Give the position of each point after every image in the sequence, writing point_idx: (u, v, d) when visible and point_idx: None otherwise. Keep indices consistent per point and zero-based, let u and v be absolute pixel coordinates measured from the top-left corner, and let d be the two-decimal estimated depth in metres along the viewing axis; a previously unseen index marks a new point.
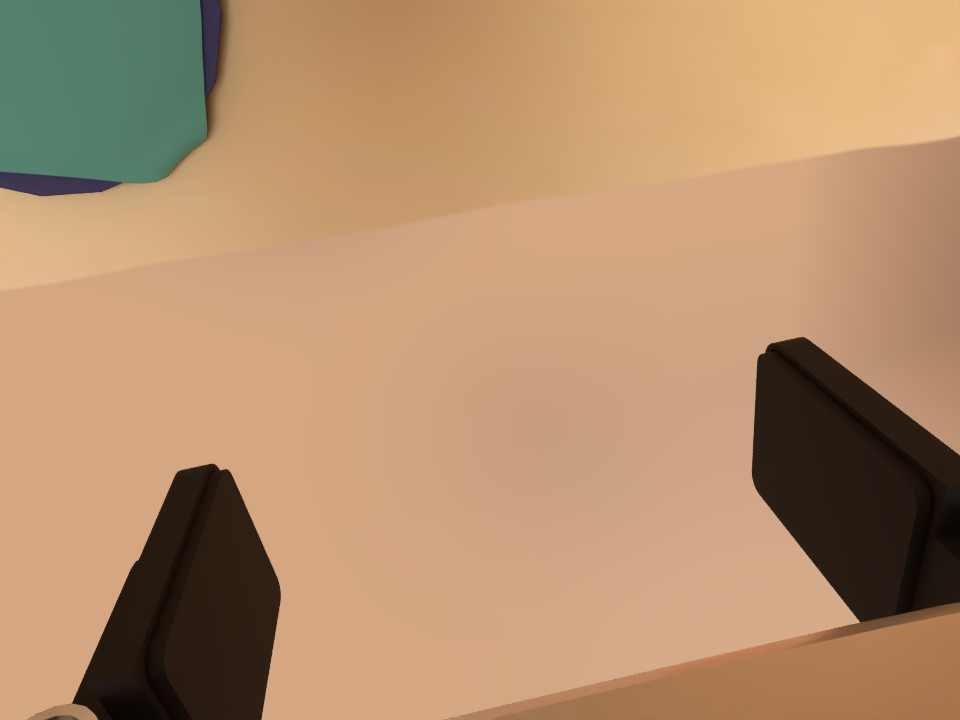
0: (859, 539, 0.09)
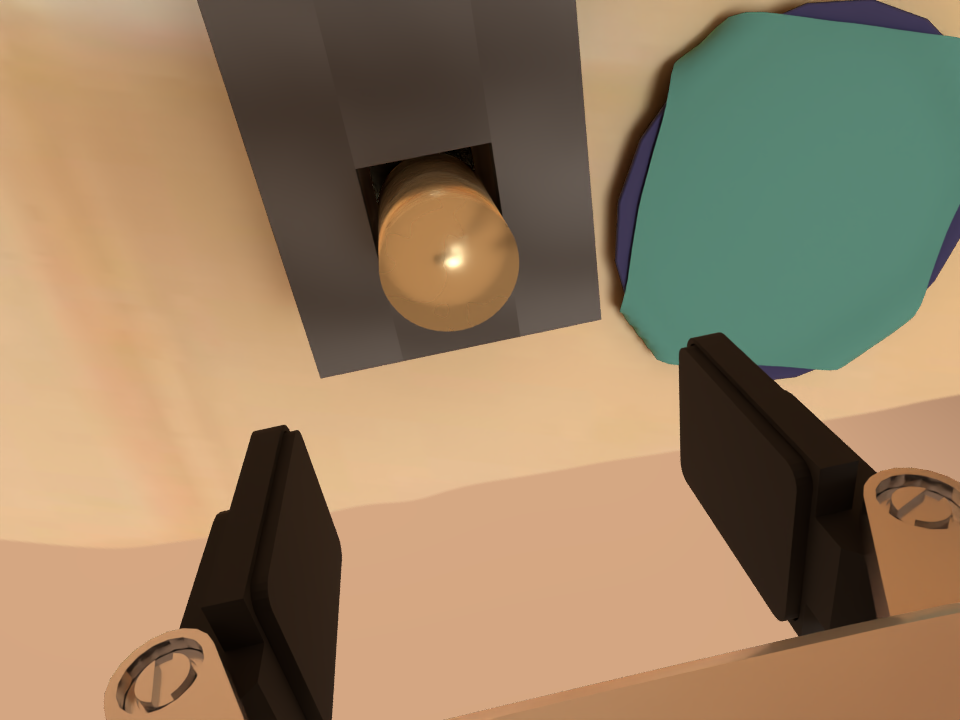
0: (758, 521, 0.10)
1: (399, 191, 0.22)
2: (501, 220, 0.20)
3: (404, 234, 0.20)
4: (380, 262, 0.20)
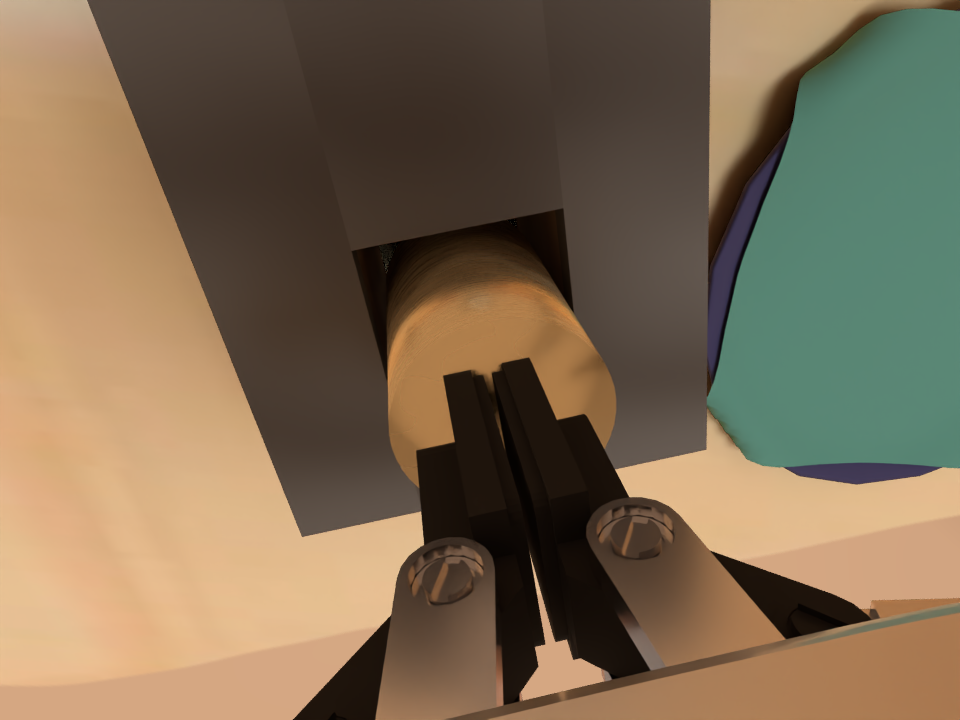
0: (535, 545, 0.10)
1: (420, 285, 0.14)
2: (592, 351, 0.12)
3: (431, 376, 0.12)
4: (391, 418, 0.12)
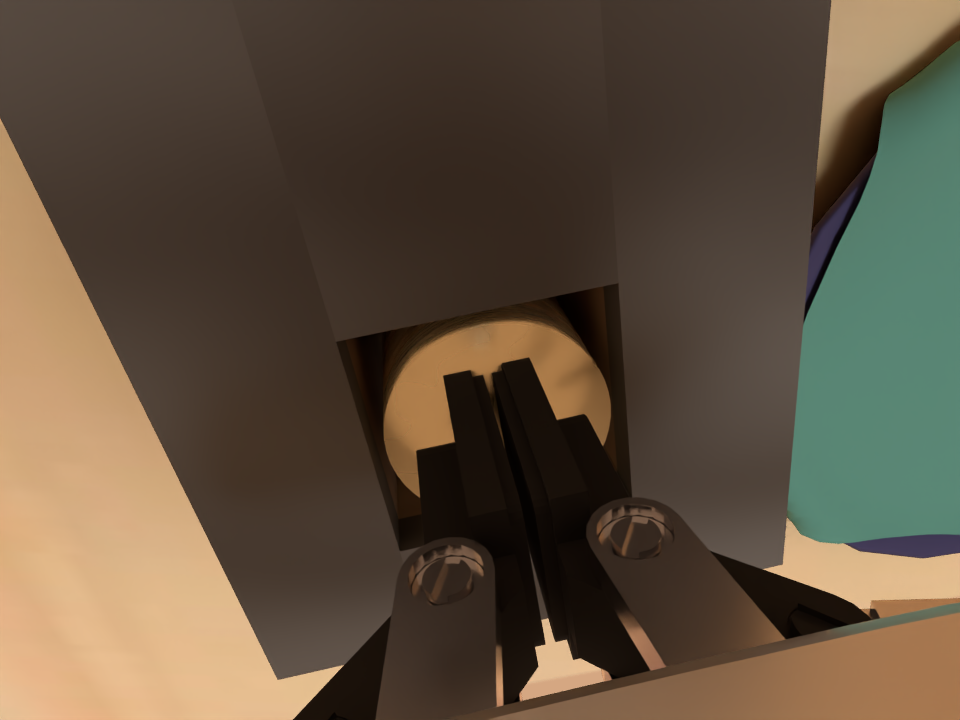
0: (534, 545, 0.10)
1: None
2: (586, 356, 0.12)
3: (426, 382, 0.12)
4: (386, 424, 0.12)
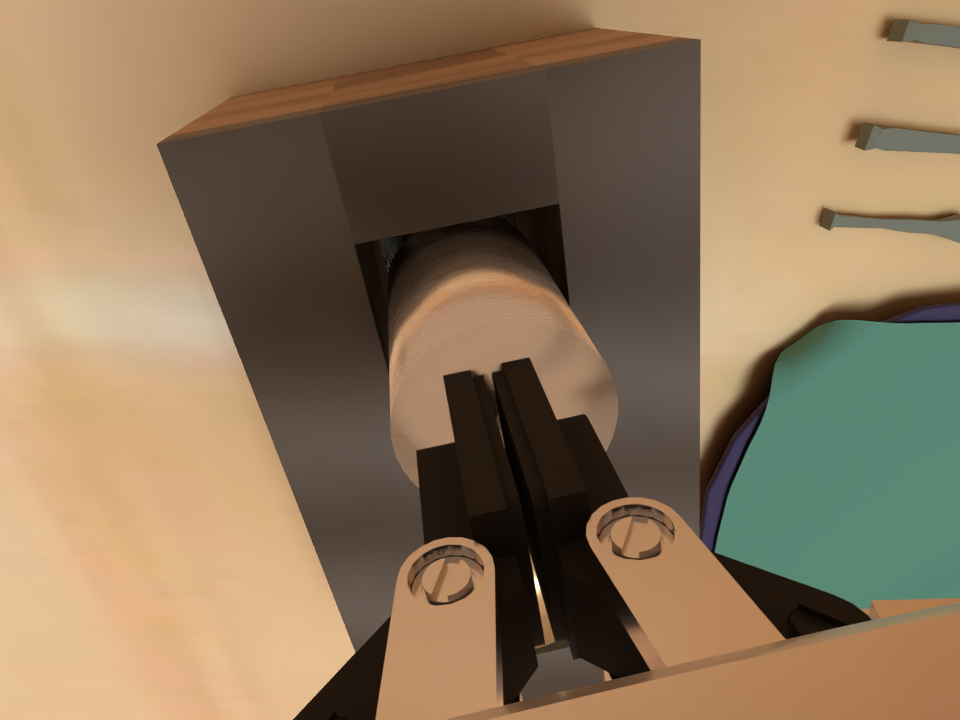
0: (534, 545, 0.10)
1: None
2: None
3: None
4: None
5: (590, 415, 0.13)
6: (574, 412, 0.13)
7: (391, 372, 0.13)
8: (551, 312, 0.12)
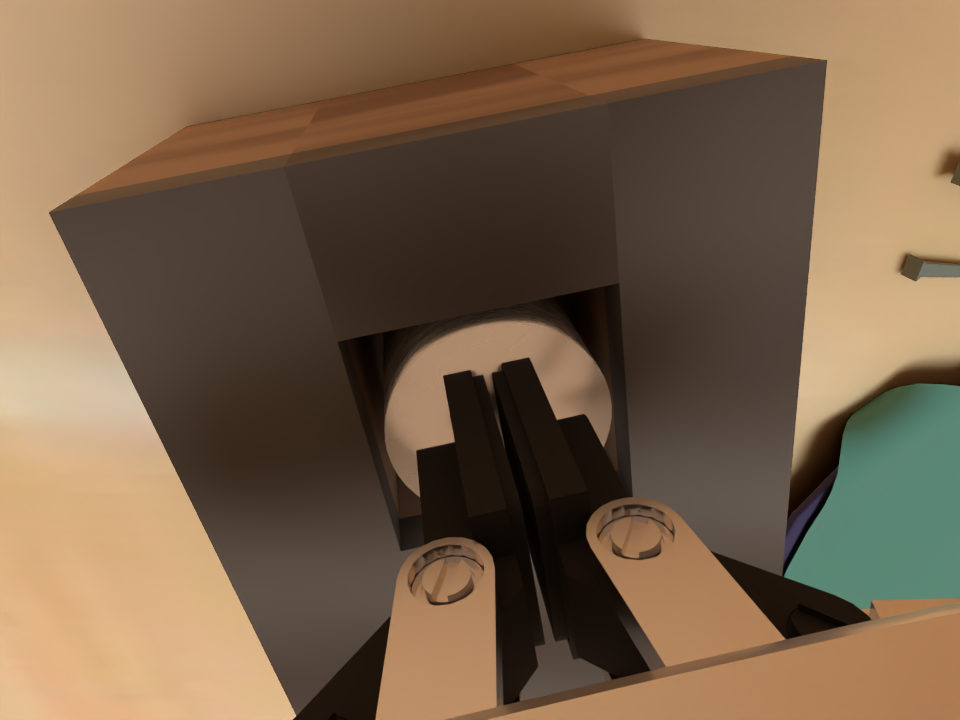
0: (535, 545, 0.10)
1: None
2: None
3: None
4: None
5: None
6: (568, 416, 0.13)
7: (385, 376, 0.13)
8: (545, 316, 0.12)
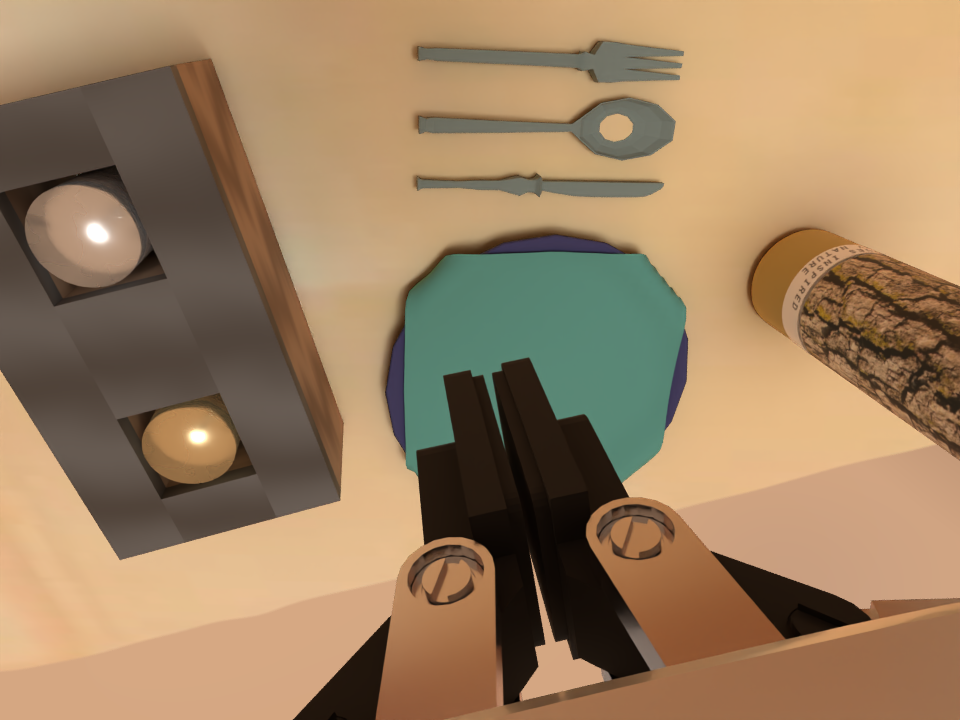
0: (535, 545, 0.10)
1: None
2: (216, 419, 0.32)
3: (155, 431, 0.32)
4: (142, 448, 0.32)
5: (124, 233, 0.28)
6: (115, 231, 0.28)
7: None
8: (98, 185, 0.28)
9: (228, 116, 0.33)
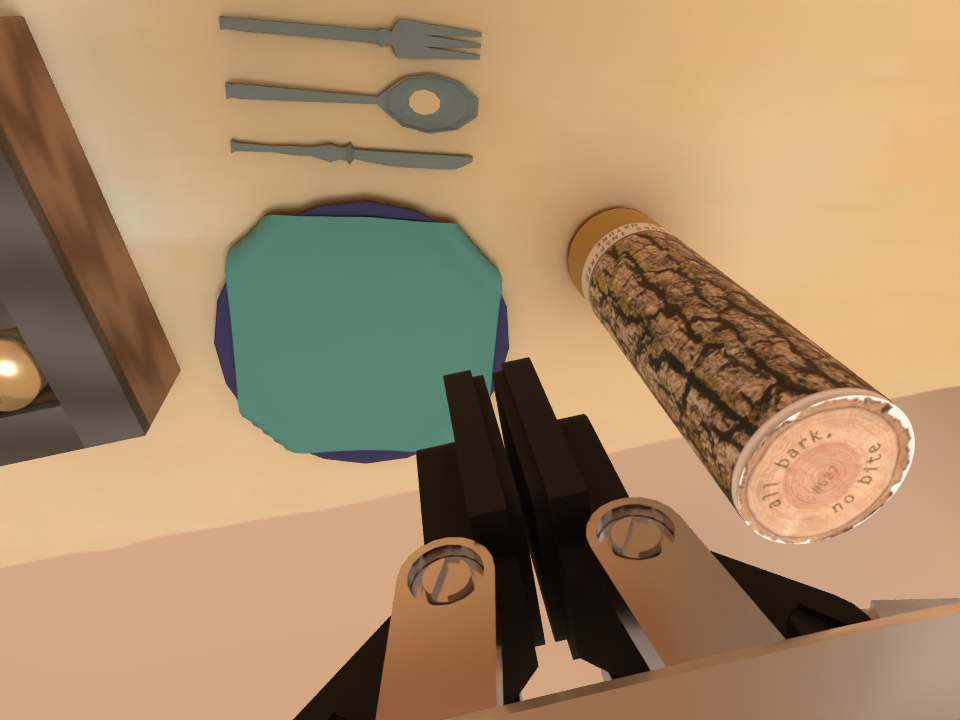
0: (535, 545, 0.10)
1: None
2: (16, 351, 0.35)
3: None
4: None
5: None
6: None
7: None
8: None
9: (40, 71, 0.36)
